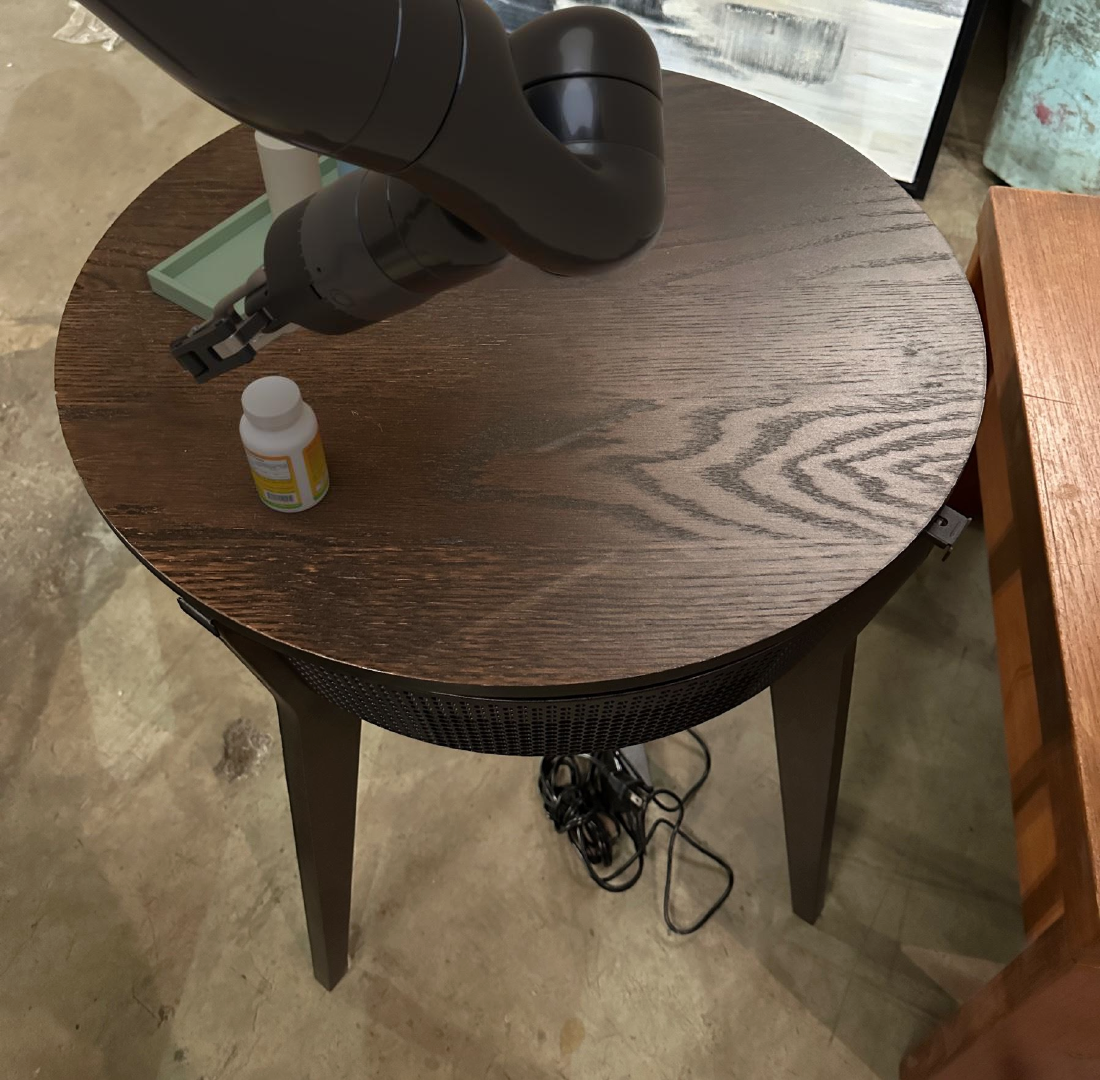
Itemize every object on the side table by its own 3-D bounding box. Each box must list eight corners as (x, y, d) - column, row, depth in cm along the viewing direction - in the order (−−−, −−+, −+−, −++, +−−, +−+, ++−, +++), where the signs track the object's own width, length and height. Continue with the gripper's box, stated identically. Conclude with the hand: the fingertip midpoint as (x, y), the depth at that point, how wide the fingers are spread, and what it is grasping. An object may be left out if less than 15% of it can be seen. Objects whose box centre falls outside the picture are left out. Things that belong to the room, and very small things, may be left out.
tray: (239, 339, 88) (234, 319, 86) (152, 291, 91) (146, 272, 90) (439, 188, 102) (438, 169, 100) (357, 151, 106) (355, 133, 104)
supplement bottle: (311, 451, 80) (290, 358, 73) (342, 496, 78) (323, 404, 70) (246, 478, 78) (217, 385, 71) (276, 525, 76) (249, 434, 68)
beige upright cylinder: (276, 250, 94) (254, 151, 86) (275, 217, 97) (254, 119, 89) (331, 245, 95) (315, 146, 87) (328, 213, 98) (312, 115, 90)
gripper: (399, 125, 58) (259, 210, 69) (232, 263, 50) (106, 333, 62) (474, 238, 61) (328, 302, 73) (328, 385, 53) (192, 429, 65)
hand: (227, 316), depth 67 cm, fingers open, 8 cm apart
